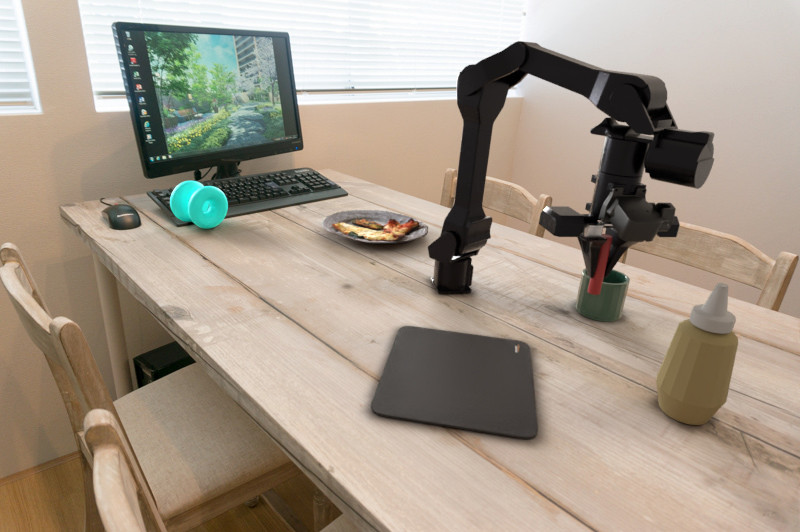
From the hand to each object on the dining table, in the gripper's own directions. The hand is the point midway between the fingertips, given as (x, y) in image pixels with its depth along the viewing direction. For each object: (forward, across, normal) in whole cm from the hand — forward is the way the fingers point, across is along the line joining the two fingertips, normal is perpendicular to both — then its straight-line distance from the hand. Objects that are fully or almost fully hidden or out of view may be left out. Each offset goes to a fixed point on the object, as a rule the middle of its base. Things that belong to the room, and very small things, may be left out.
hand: (596, 276), depth 78 cm
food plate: (+9, -29, +50) cm, 59 cm away
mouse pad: (+12, -22, -6) cm, 26 cm away
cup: (+12, +9, +11) cm, 19 cm away
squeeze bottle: (+12, +6, -17) cm, 21 cm away
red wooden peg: (+2, 0, 0) cm, 3 cm away
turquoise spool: (+13, -67, +61) cm, 91 cm away
